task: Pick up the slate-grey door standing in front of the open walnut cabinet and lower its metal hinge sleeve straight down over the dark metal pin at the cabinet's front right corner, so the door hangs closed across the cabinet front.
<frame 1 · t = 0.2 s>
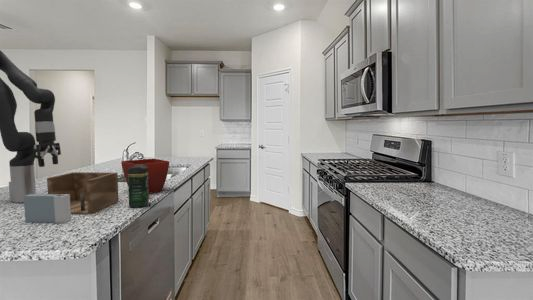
hand: (48, 165, 146), 17 cm above the worktop, tool pointing down, fingers open, 8 cm apart
coffee jar: (139, 205, 140), on the worktop
canned food: (140, 199, 152), on the worktop
plant pot: (146, 191, 169), on the worktop
door: (43, 220, 117), on the worktop
cabinet: (82, 206, 137), on the worktop
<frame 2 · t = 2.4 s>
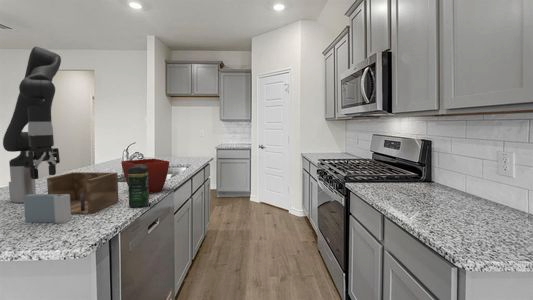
hand: (43, 177, 116), 17 cm above the worktop, tool pointing down, fingers open, 8 cm apart
nothing on the worktop moved.
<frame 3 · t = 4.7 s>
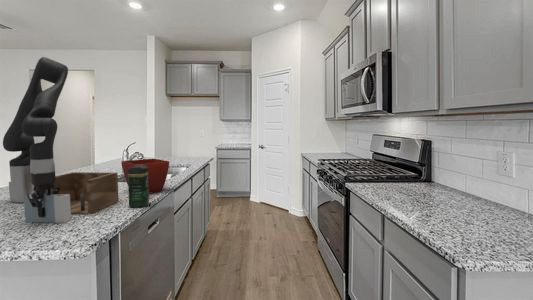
hand: (45, 215, 117), 2 cm above the worktop, tool pointing down, fingers closed on door, 3 cm apart
door: (43, 220, 117), on the worktop, touching gripper
everything else where it was.
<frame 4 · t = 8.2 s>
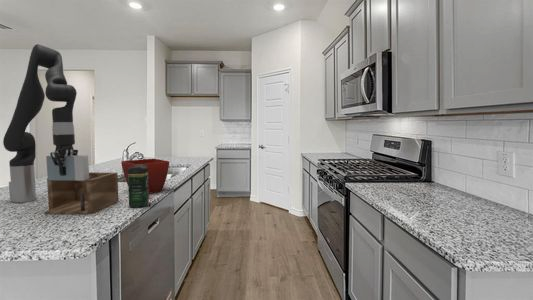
hand: (66, 174, 128), 16 cm above the worktop, tool pointing down, fingers closed on door, 3 cm apart
door: (64, 179, 128), point 14 cm above the worktop, touching gripper
everything else where it was.
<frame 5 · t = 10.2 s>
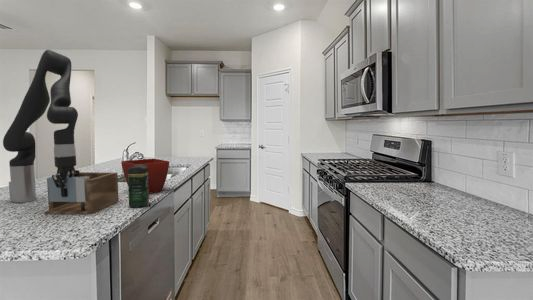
hand: (67, 195, 129), 7 cm above the worktop, tool pointing down, fingers closed on door, 3 cm apart
door: (65, 200, 129), point 5 cm above the worktop, touching gripper
everything else where it was.
when the fingers open (4 cm above the worktop, at t = 11.8 s): door stays where it is, resting on cabinet.
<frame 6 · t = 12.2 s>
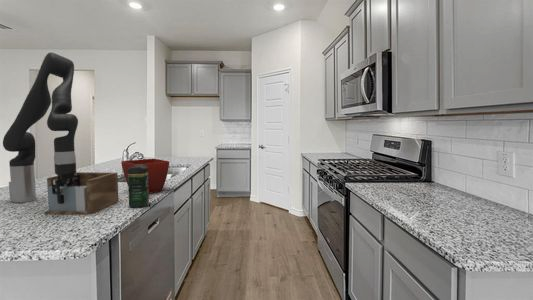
hand: (67, 201, 129), 5 cm above the worktop, tool pointing down, fingers open, 7 cm apart
door: (65, 210, 129), point 1 cm above the worktop, touching cabinet
everything else where it was.
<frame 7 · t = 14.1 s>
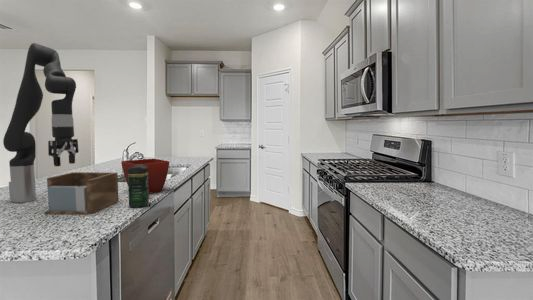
hand: (65, 164, 127), 20 cm above the worktop, tool pointing down, fingers open, 8 cm apart
nothing on the worktop moved.
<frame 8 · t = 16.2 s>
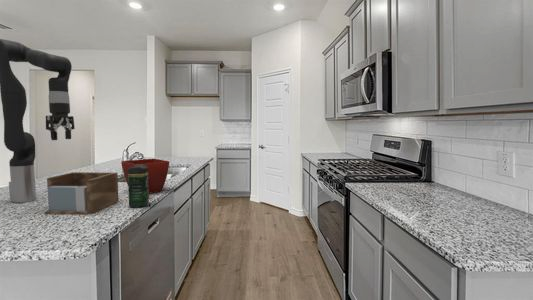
hand: (61, 139, 135), 30 cm above the worktop, tool pointing down, fingers open, 8 cm apart
nothing on the worktop moved.
at the end: door 0.0 cm from the target spot, point 0.8 cm above the worktop; door tilted 0°; the gripper is holding nothing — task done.
